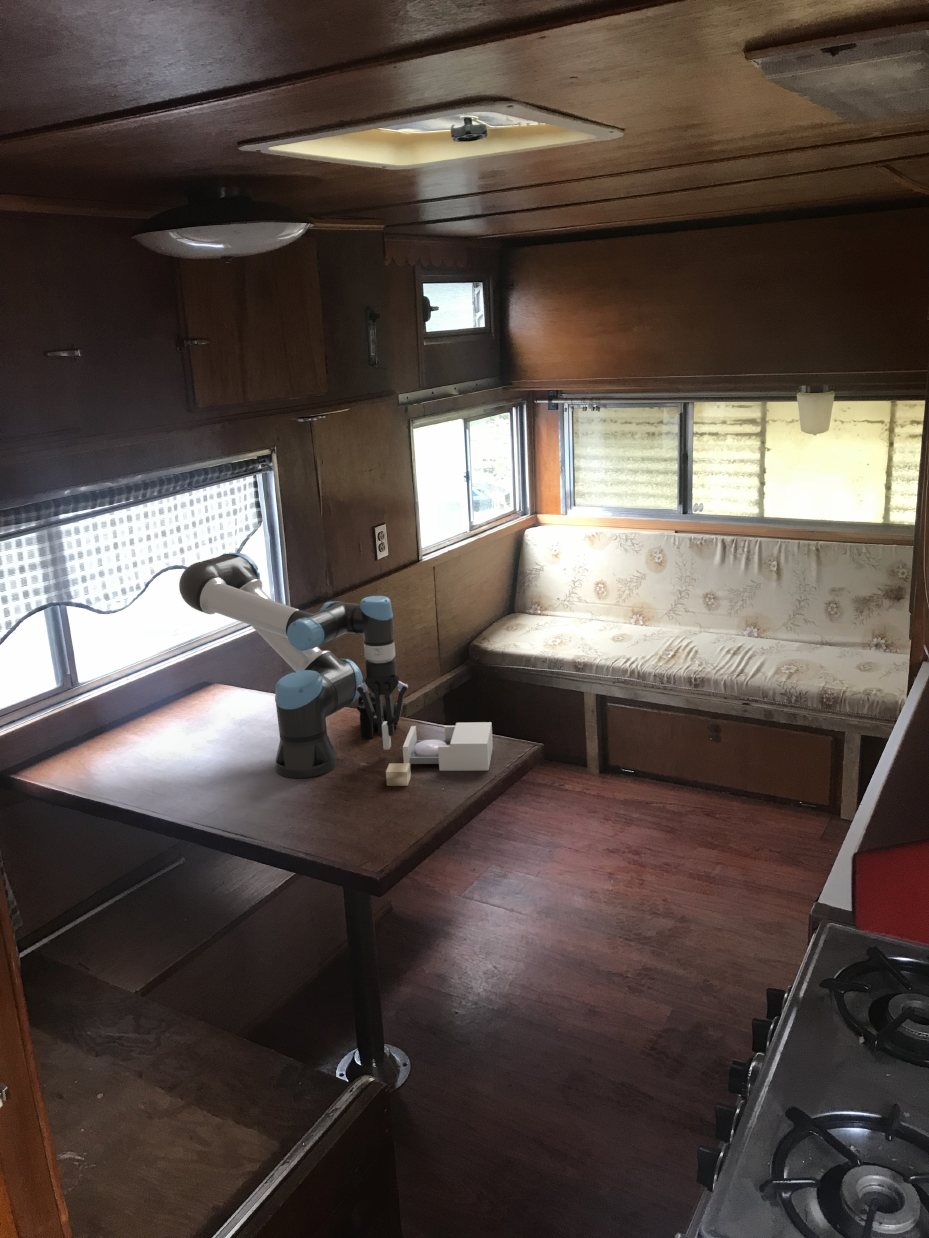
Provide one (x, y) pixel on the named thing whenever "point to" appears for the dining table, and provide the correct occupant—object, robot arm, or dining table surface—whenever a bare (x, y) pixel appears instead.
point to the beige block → (398, 774)
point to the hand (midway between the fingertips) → (387, 747)
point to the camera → (365, 723)
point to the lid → (428, 748)
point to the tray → (409, 750)
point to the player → (466, 747)
